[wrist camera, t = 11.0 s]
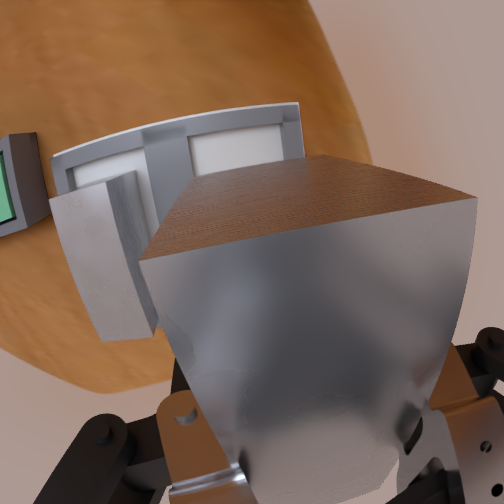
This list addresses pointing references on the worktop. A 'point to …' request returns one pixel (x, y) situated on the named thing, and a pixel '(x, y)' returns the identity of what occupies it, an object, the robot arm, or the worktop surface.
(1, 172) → the button
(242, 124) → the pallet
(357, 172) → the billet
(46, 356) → the worktop surface
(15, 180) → the box
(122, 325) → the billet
